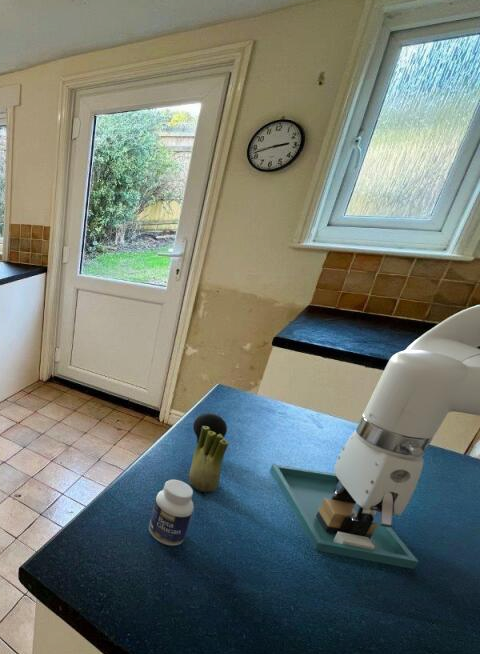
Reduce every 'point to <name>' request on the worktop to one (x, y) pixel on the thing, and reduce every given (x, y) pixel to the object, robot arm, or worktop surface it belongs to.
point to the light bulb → (210, 424)
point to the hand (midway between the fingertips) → (343, 525)
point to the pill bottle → (172, 513)
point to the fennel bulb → (207, 461)
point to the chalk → (353, 540)
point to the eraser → (338, 515)
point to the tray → (305, 501)
